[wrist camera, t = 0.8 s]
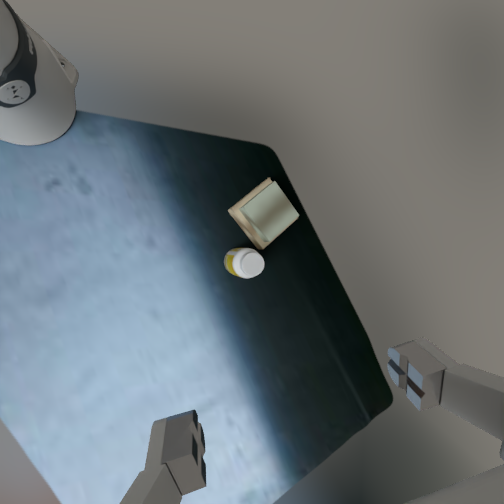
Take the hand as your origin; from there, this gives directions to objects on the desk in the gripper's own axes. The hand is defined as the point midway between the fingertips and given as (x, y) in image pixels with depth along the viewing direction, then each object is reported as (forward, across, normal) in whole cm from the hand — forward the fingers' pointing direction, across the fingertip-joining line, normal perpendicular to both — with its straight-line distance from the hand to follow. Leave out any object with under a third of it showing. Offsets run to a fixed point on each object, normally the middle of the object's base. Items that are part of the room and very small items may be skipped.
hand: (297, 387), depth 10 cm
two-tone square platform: (+44, -8, +4) cm, 45 cm away
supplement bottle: (+41, -1, +11) cm, 42 cm away
